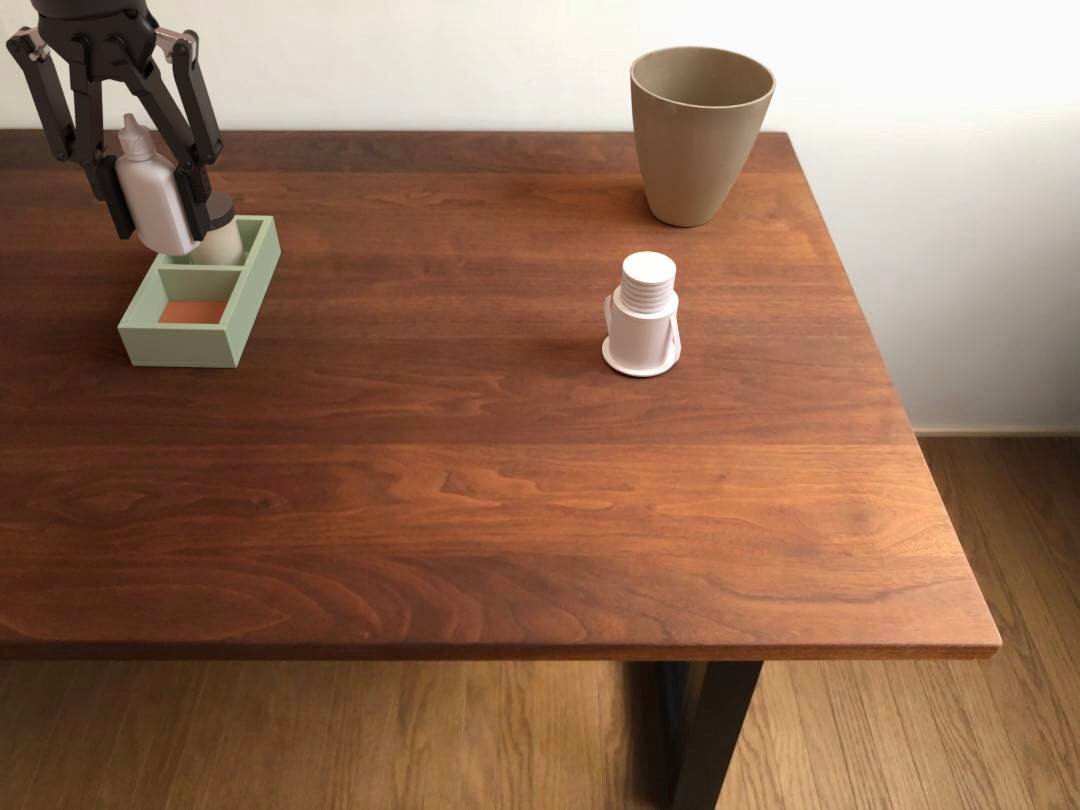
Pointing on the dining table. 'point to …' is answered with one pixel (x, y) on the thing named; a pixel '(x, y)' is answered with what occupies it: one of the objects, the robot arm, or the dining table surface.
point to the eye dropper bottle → (152, 192)
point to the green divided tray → (201, 304)
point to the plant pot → (695, 126)
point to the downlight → (643, 317)
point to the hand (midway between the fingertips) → (166, 231)
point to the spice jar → (220, 235)
